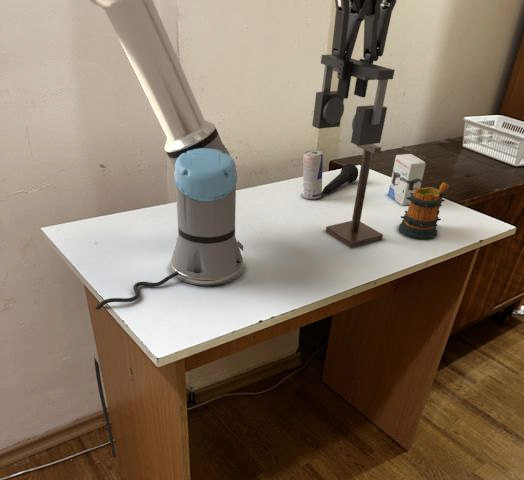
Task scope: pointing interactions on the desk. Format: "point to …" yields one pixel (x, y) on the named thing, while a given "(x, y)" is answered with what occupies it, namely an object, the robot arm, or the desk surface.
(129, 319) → the desk surface
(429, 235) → the mug
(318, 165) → the energy drink
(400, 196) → the ink box
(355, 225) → the stand
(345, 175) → the microphone
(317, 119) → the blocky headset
